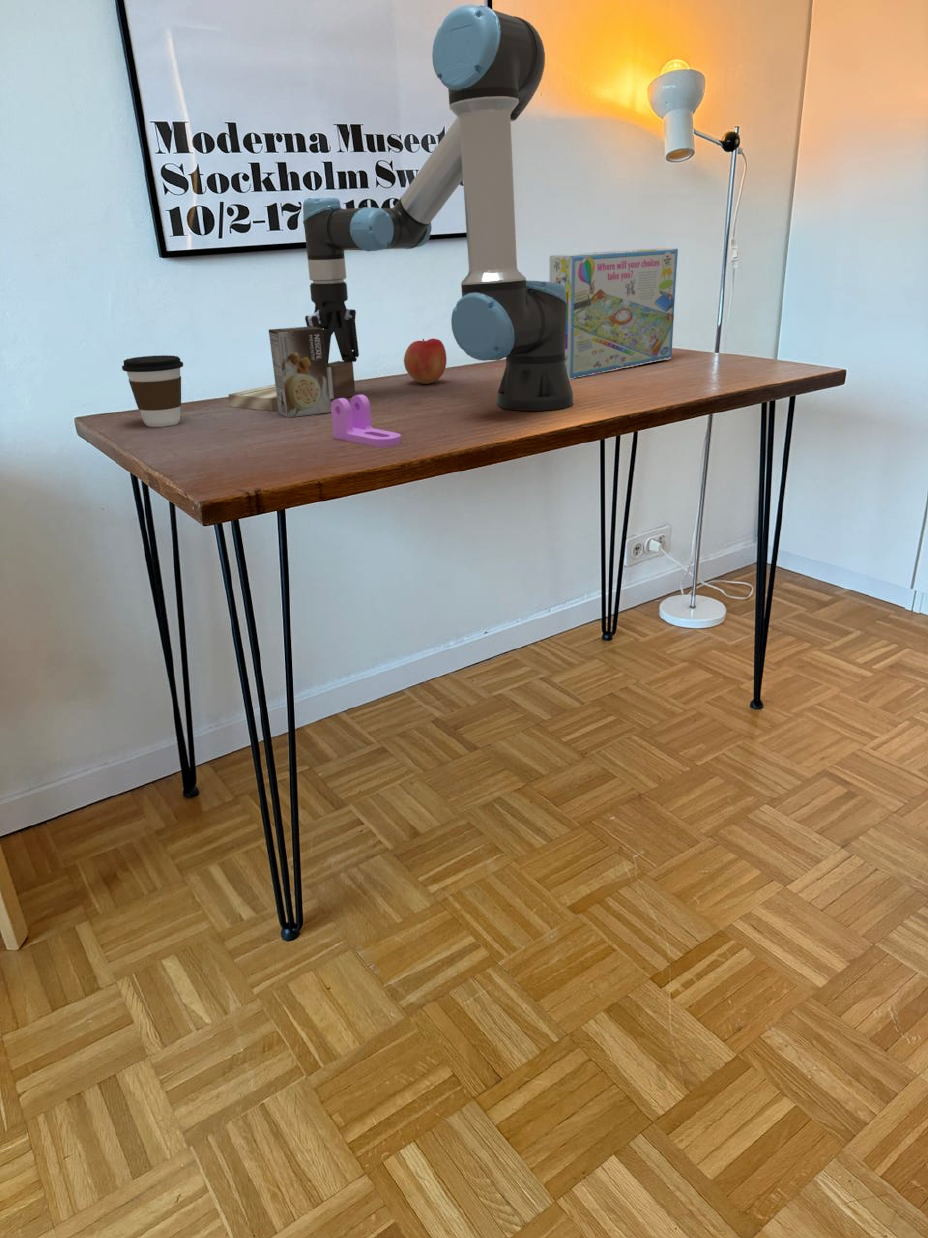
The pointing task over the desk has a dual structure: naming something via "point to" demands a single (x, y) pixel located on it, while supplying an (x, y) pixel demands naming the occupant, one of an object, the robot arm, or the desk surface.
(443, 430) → the desk surface
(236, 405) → the plank
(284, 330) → the coffee box
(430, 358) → the apple
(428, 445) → the desk surface
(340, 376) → the chocolate brown block
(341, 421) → the bracket
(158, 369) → the coffee cup
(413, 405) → the desk surface
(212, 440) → the desk surface
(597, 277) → the game box
